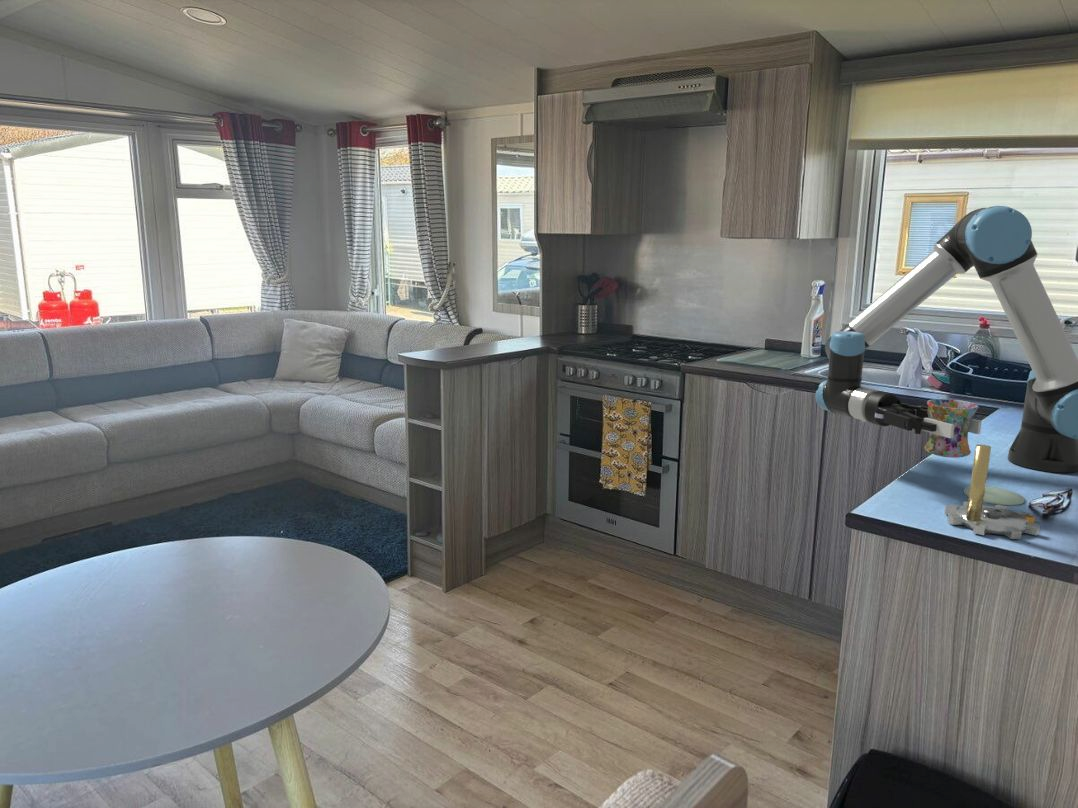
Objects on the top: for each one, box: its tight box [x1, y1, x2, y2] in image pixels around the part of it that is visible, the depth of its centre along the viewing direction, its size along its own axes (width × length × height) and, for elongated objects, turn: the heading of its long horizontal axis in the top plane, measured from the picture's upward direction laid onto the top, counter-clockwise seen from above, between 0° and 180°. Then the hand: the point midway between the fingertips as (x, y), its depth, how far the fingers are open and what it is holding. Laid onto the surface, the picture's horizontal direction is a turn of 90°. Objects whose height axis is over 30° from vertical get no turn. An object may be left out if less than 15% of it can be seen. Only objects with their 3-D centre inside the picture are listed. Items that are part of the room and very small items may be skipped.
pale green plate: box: [963, 486, 1026, 506], centre depth 167 cm, size 11×11×1 cm
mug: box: [924, 398, 979, 459], centre depth 164 cm, size 12×9×11 cm
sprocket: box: [944, 444, 1041, 540], centre depth 149 cm, size 15×15×16 cm
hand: (966, 429), depth 159 cm, fingers closed on mug, 7 cm apart
